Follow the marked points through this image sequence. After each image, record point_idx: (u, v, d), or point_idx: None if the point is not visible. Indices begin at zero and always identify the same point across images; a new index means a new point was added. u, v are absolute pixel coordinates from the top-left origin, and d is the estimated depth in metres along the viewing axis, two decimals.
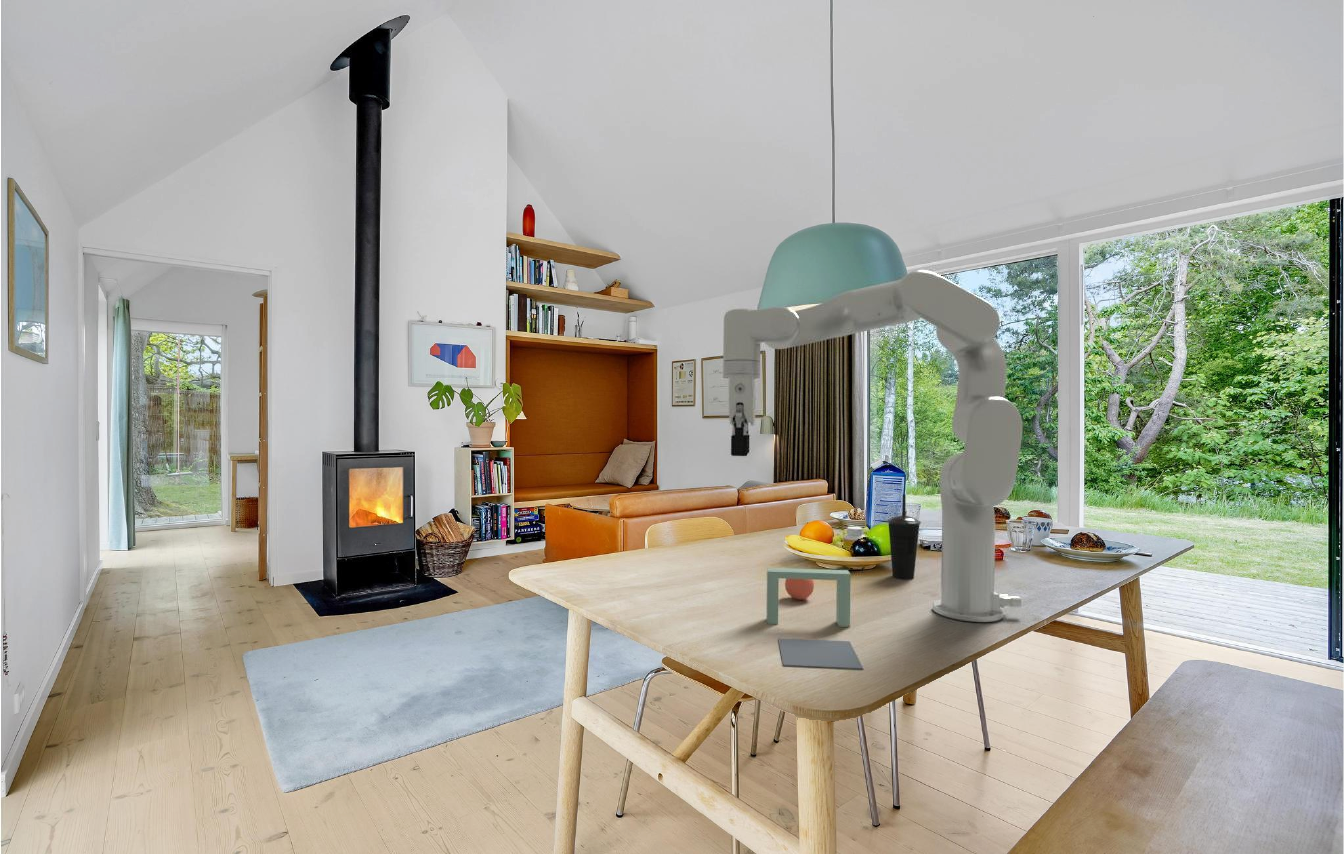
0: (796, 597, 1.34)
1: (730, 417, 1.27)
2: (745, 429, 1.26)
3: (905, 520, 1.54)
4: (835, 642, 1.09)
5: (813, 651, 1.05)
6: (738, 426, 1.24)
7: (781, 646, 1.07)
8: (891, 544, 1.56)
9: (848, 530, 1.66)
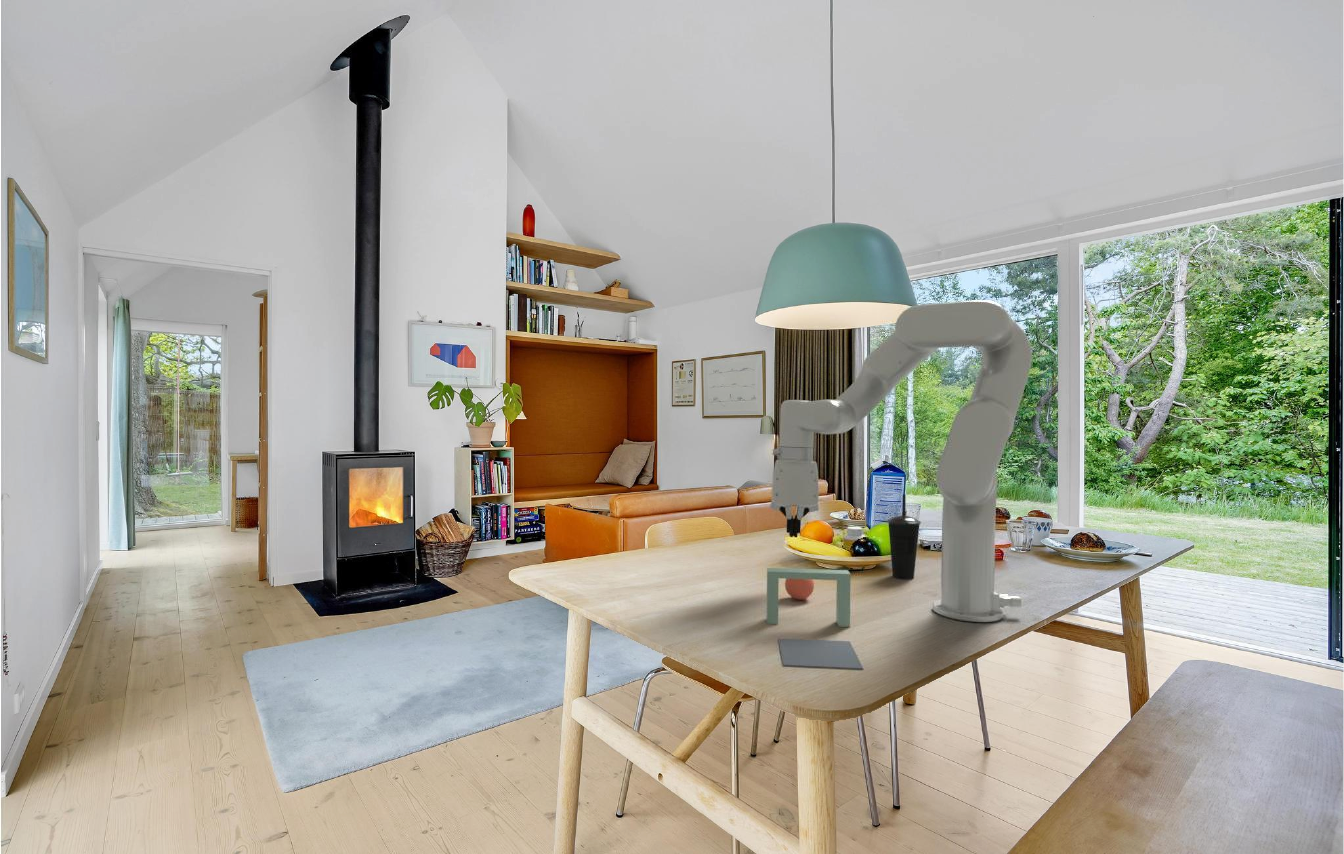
0: (796, 597, 1.34)
1: None
2: (786, 515, 1.44)
3: (905, 520, 1.54)
4: (835, 642, 1.09)
5: (813, 651, 1.05)
6: None
7: (781, 646, 1.07)
8: (891, 544, 1.56)
9: (848, 530, 1.66)
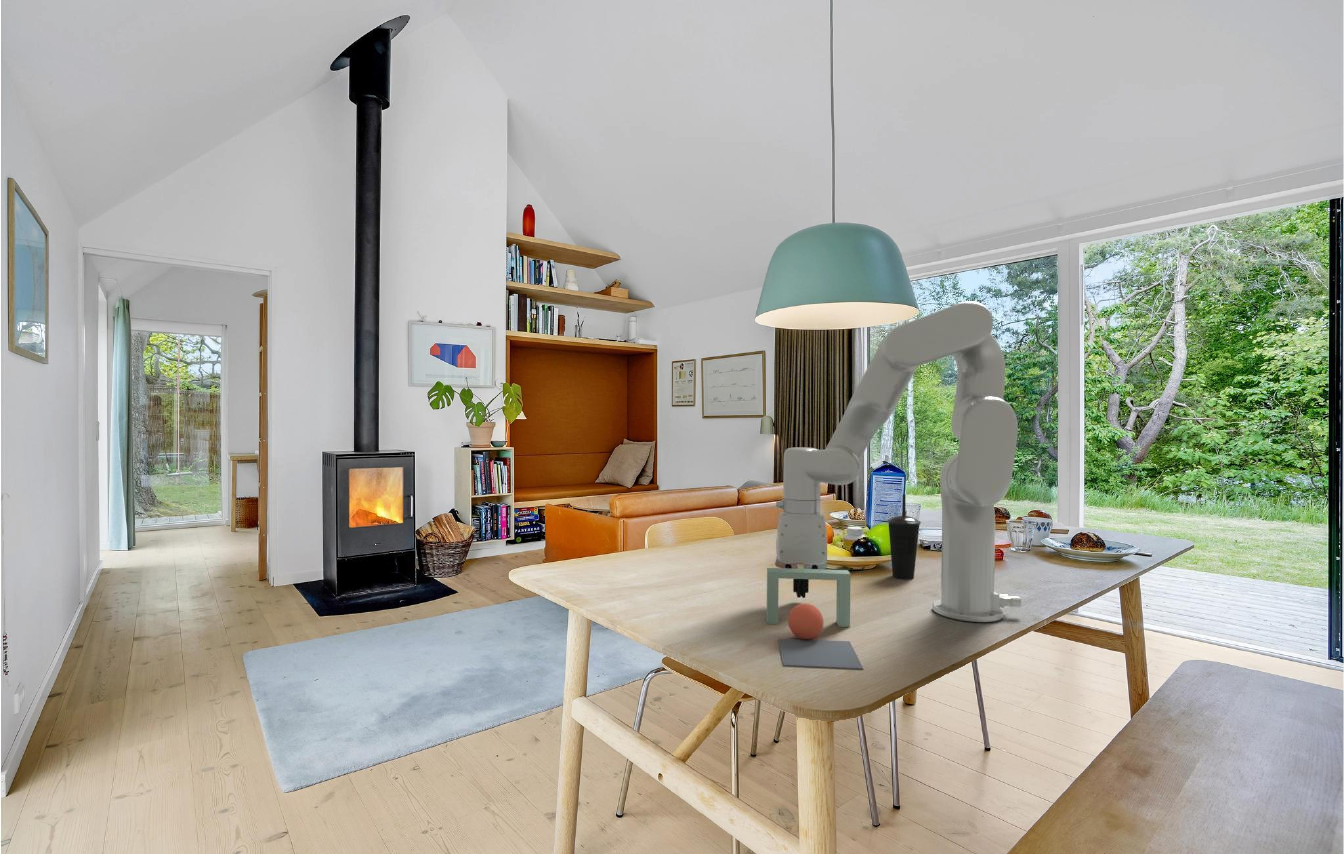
0: None
1: None
2: None
3: (905, 520, 1.54)
4: (835, 642, 1.09)
5: (813, 651, 1.05)
6: None
7: (781, 646, 1.07)
8: (891, 544, 1.56)
9: (848, 530, 1.66)
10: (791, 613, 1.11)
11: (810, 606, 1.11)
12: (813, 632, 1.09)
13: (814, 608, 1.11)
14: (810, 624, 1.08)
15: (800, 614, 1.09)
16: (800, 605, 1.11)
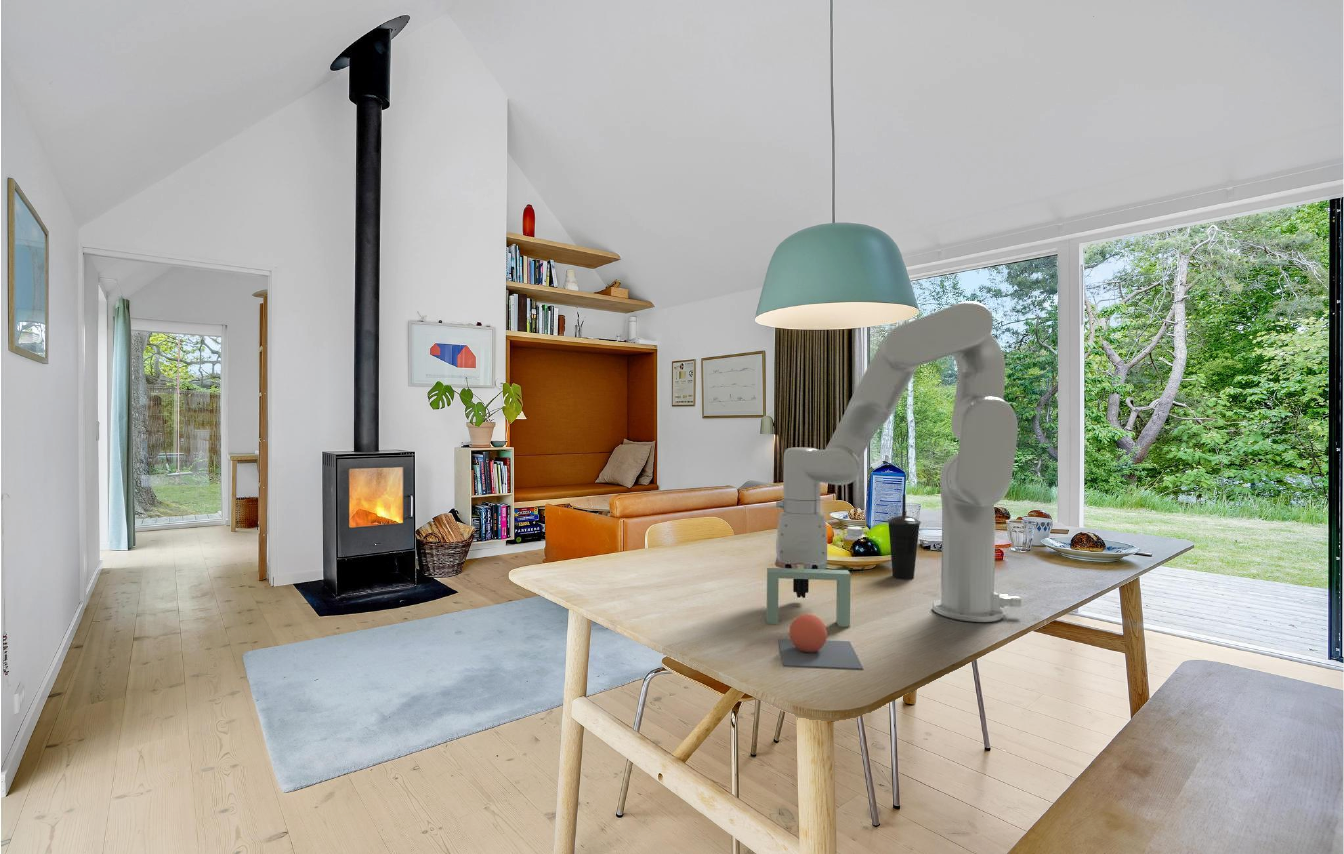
0: (805, 614, 1.05)
1: None
2: None
3: (905, 520, 1.54)
4: (835, 642, 1.09)
5: None
6: None
7: (781, 646, 1.07)
8: (891, 544, 1.56)
9: (848, 530, 1.66)
10: (792, 641, 1.05)
11: (813, 649, 1.03)
12: None
13: (817, 648, 1.03)
14: None
15: (802, 650, 1.05)
16: (803, 647, 1.03)
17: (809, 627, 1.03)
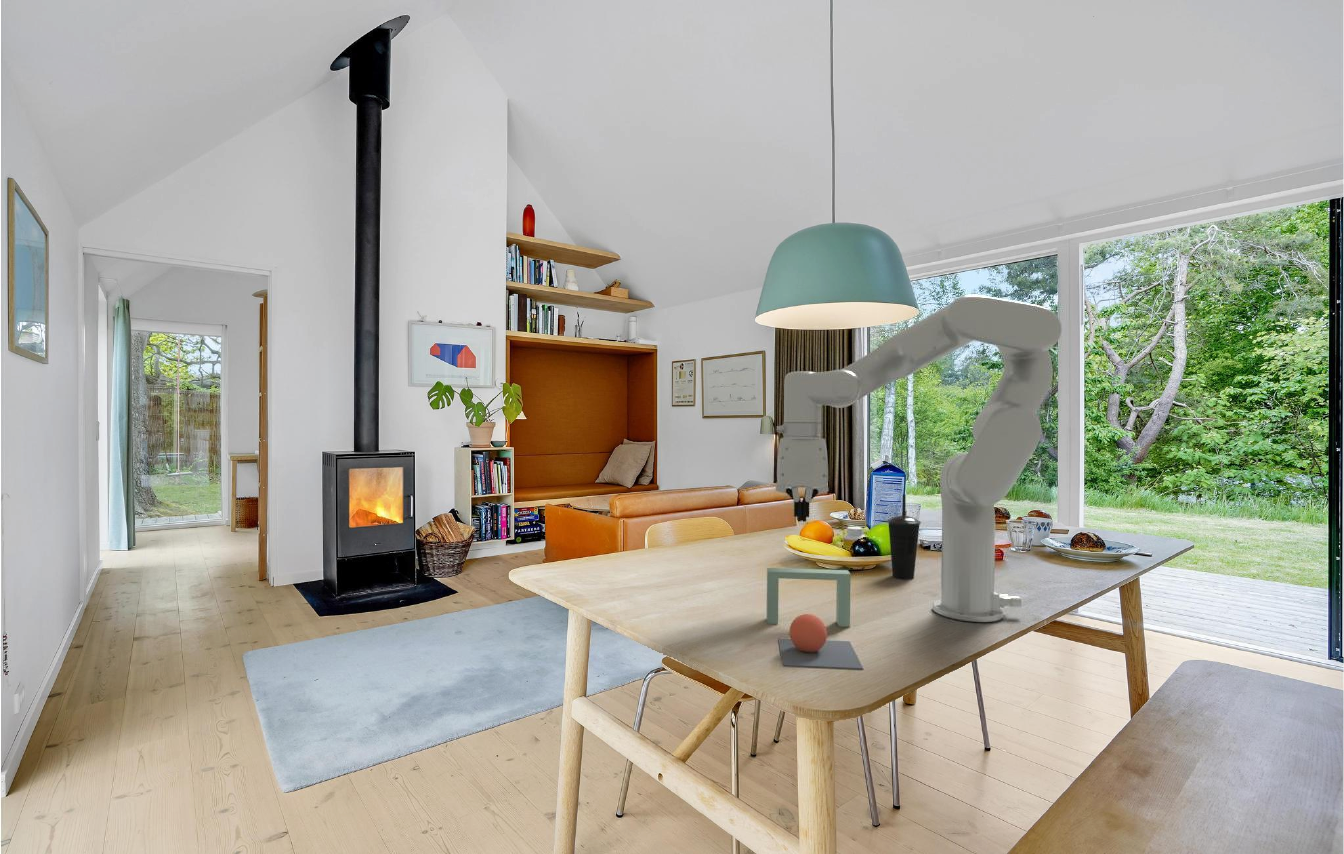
0: (805, 614, 1.05)
1: None
2: (793, 497, 1.32)
3: (905, 520, 1.54)
4: (835, 642, 1.09)
5: None
6: (787, 493, 1.33)
7: (781, 646, 1.07)
8: (891, 544, 1.56)
9: (848, 530, 1.66)
10: (792, 641, 1.05)
11: (813, 649, 1.03)
12: None
13: (817, 648, 1.03)
14: None
15: (802, 650, 1.05)
16: (803, 647, 1.03)
17: (809, 627, 1.03)
